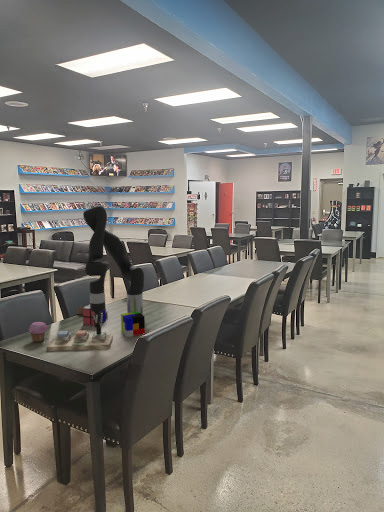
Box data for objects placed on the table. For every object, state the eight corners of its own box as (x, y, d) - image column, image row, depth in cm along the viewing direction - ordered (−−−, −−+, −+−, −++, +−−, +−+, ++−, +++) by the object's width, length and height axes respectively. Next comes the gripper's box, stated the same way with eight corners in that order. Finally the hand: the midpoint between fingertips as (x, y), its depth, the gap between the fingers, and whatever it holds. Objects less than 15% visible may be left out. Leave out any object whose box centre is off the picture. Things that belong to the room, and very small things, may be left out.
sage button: (104, 336, 198) (104, 332, 198) (103, 339, 194) (102, 335, 194) (95, 336, 198) (95, 332, 198) (94, 340, 194) (94, 335, 193)
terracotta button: (86, 334, 198) (86, 330, 197) (84, 337, 193) (84, 333, 193) (77, 335, 197) (77, 330, 197) (76, 338, 193) (75, 333, 193)
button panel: (112, 338, 202) (112, 330, 202) (109, 348, 189) (108, 339, 188) (54, 340, 200) (54, 331, 199) (46, 350, 186) (46, 341, 186)
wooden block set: (103, 302, 252) (107, 310, 235) (104, 311, 252) (108, 319, 236) (77, 305, 246) (79, 313, 229) (77, 313, 247) (79, 322, 230)
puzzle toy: (127, 337, 204) (126, 319, 203) (121, 331, 213) (120, 313, 212) (144, 333, 209) (144, 316, 207) (138, 328, 218) (138, 311, 216)
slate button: (68, 335, 197) (68, 330, 197) (66, 338, 193) (66, 333, 192) (60, 335, 197) (59, 331, 196) (57, 338, 192) (57, 334, 192)
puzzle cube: (98, 326, 222) (98, 309, 221) (82, 324, 224) (82, 308, 223) (106, 320, 232) (105, 304, 230) (90, 319, 234) (90, 303, 232)
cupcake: (34, 337, 204) (33, 319, 203) (50, 337, 204) (49, 319, 202) (26, 343, 195) (25, 325, 194) (43, 344, 195) (42, 325, 193)
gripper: (103, 304, 187) (104, 338, 190) (107, 297, 200) (108, 329, 203) (87, 304, 186) (89, 338, 189) (92, 297, 199) (93, 329, 202)
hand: (98, 333), depth 196 cm, fingers closed
